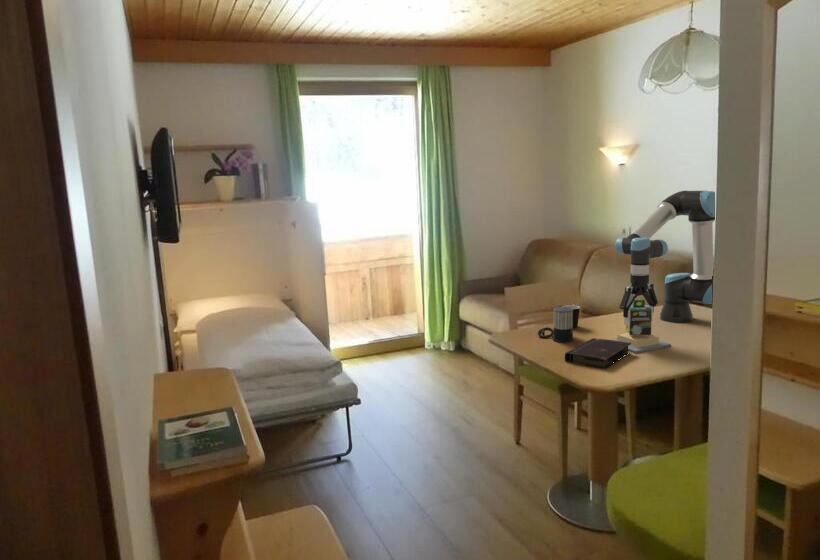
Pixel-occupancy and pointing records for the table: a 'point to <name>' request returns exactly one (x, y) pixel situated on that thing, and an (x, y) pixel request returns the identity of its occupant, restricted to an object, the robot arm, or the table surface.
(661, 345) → the board
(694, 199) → the robot arm
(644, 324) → the chalk box
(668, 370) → the table surface
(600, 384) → the table surface
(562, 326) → the milk frother
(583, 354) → the diary
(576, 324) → the coffee mug
